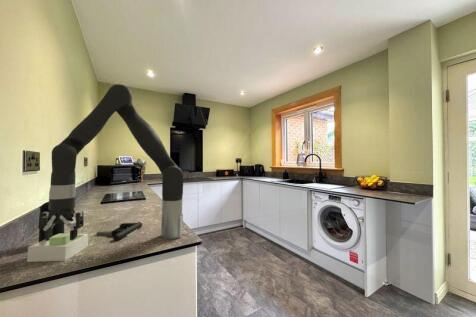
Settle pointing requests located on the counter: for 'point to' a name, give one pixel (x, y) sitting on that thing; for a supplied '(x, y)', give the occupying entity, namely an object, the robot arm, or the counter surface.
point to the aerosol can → (56, 228)
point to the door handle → (121, 230)
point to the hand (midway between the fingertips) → (60, 239)
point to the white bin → (56, 250)
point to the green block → (60, 239)
